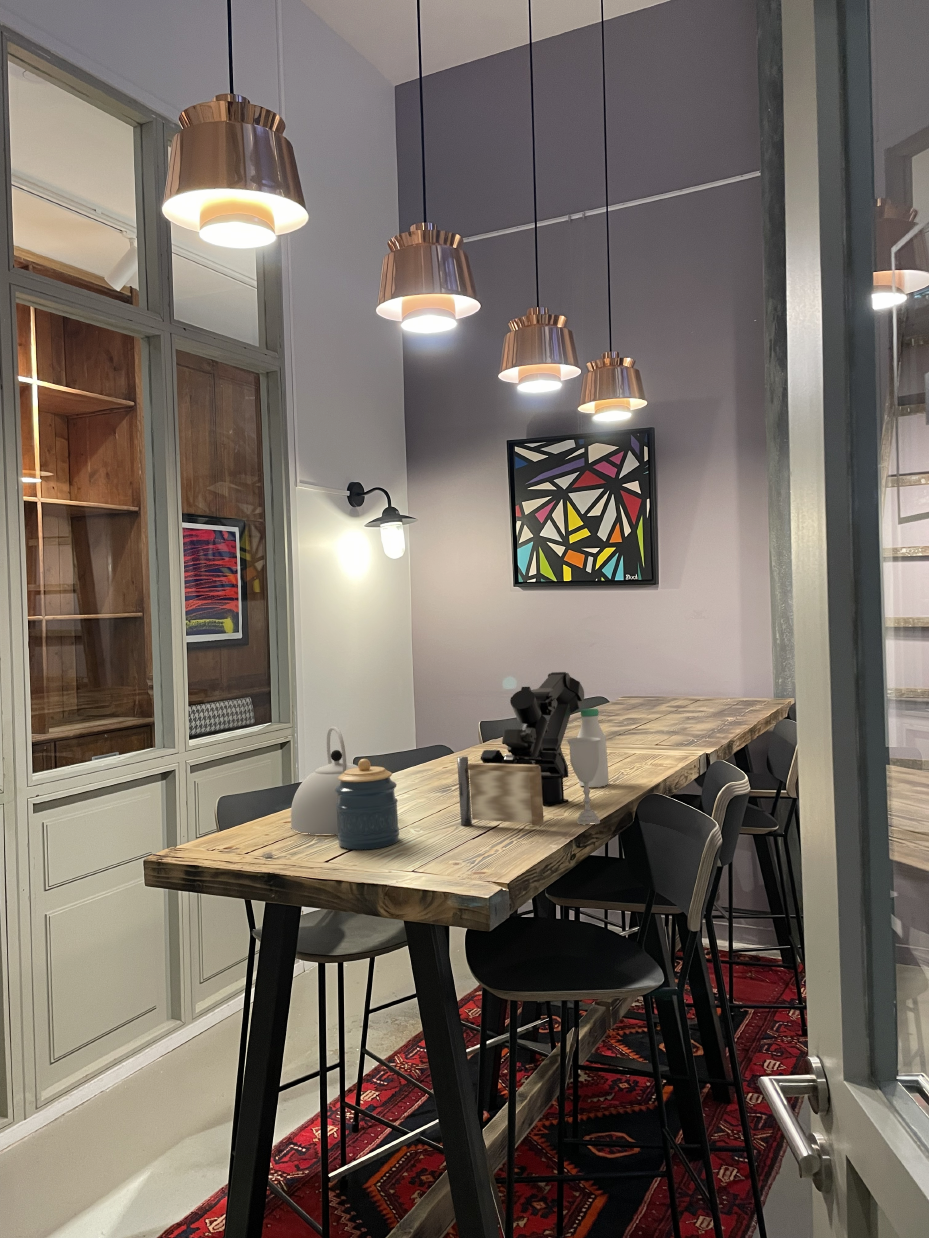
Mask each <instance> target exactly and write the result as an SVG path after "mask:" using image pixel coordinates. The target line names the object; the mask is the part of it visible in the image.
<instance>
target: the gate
mask: <svg viewBox="0 0 929 1238" xmlns="http://www.w3.org/2000/svg"><path fill="white" fill-rule="evenodd" d="M468 770H469V785H470V802H471V818H472V820H476V821H489V822H491V821H492V822H504V823H505V822H507V823H521V824H532V826H539V827H541V826H542V825H544V824H545V817H544V816H545V815H544V805H543V800H542V783H541V767H539V765H527V764H496V763H483V762H471V763H468Z"/></svg>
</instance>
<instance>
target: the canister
mask: <svg viewBox="0 0 929 1238" xmlns="http://www.w3.org/2000/svg"><path fill="white" fill-rule="evenodd" d="M371 765H372V764H371V762H370V760H369V759H367V758H362V759H360V760H359V761H358V765H357V766H358V768H352V769H348V770H346V771H345V772H344V773H343V774H342V775H340V776H339V777H338V780H340V784H339V785H338V786H337V787H336V788H335V792H336V793H337V794H338V802H337V803H336V808H337V823H338V833H337V835H336V836H337V841H338V845H339V847H341V848H343V847H344V848H343V849H346V848H347V849H346V850H355V849H357V850H359V851H361V850H363V849H364V850H374V849H380V848H385V847H389V846H392V845H394V844H396V843H397V842H398V841H399V840H400V839H399V837H400V827H399V816H398V798H396V795H395V789H396V788H397V783H396V782H395V781H393V780H392V779H391V776H393V774H392V772H391V771H389V770H387V769H386V768H385V767H382V766H371ZM357 850H356V851H357ZM364 850H363V851H364Z"/></svg>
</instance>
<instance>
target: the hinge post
mask: <svg viewBox="0 0 929 1238" xmlns="http://www.w3.org/2000/svg"><path fill="white" fill-rule="evenodd" d="M456 761H457V764H456V765H457V781H458V796H459V797H458V798H459V811H460V813H459V814H460V826H462V827H470V826H472V825H473V823H472V822H473V821H472V820H473V819H472V806H471V790H470V773H469V770H468V764H469V758H468V756H457V757H456Z"/></svg>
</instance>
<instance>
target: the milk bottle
mask: <svg viewBox="0 0 929 1238" xmlns="http://www.w3.org/2000/svg"><path fill="white" fill-rule="evenodd" d="M580 716H581V717H580V718H581V726H580V729H579V732H578V734H577V737H576V738H581V737H594V738H600V741H599V743H598V749H599V764H598V768H597V771H596V773H595V776H594V778H593V780H592V781H591V782H589V785H588V787H598V788H601V787H600V786H604V787H606V786H605V785H607V784H608V785H609V784H610V783H609V781H610V780H609V763H608V750H607V740H606V736H605V733H604V731H603V730H602V728H601V725H600V722H599V709H598V708H583V709H580ZM578 784H579V786H580V787H581V786H584V783H583V782H581V781H579V780H578ZM608 785H607V786H608Z"/></svg>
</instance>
